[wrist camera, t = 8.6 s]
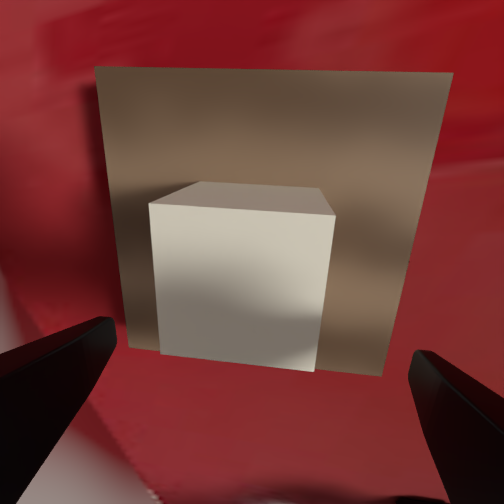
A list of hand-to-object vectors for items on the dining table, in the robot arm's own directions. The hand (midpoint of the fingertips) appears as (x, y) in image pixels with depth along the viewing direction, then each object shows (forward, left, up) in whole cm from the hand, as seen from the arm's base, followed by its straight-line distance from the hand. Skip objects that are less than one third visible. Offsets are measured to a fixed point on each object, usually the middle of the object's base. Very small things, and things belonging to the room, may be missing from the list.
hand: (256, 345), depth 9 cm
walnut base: (+1, +1, -11) cm, 11 cm away
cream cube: (+1, +1, -8) cm, 8 cm away
